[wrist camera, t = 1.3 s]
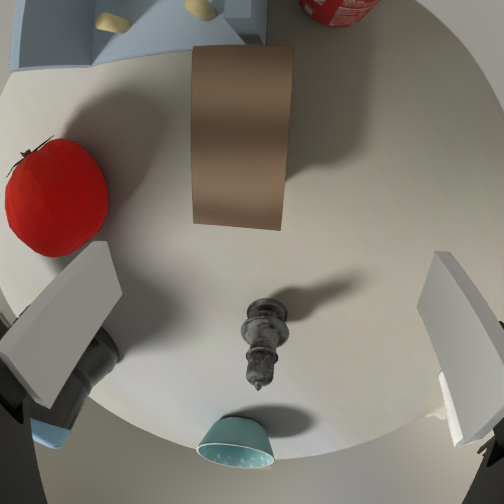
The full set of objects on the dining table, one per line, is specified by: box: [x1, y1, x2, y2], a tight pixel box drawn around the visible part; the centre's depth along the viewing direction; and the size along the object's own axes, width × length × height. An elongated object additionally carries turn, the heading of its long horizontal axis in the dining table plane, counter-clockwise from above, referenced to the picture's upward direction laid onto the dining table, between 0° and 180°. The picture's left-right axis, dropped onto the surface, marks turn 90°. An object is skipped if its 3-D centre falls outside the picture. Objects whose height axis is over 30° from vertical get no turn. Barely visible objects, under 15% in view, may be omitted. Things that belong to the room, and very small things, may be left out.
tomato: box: [5, 136, 109, 257], centre depth 27 cm, size 13×13×13 cm
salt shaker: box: [241, 299, 289, 391], centre depth 33 cm, size 6×6×12 cm
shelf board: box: [191, 45, 294, 231], centre depth 21 cm, size 14×7×3 cm, turn 178°
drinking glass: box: [439, 371, 474, 447], centre depth 35 cm, size 7×7×15 cm
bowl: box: [197, 417, 275, 468], centre depth 52 cm, size 16×16×8 cm
